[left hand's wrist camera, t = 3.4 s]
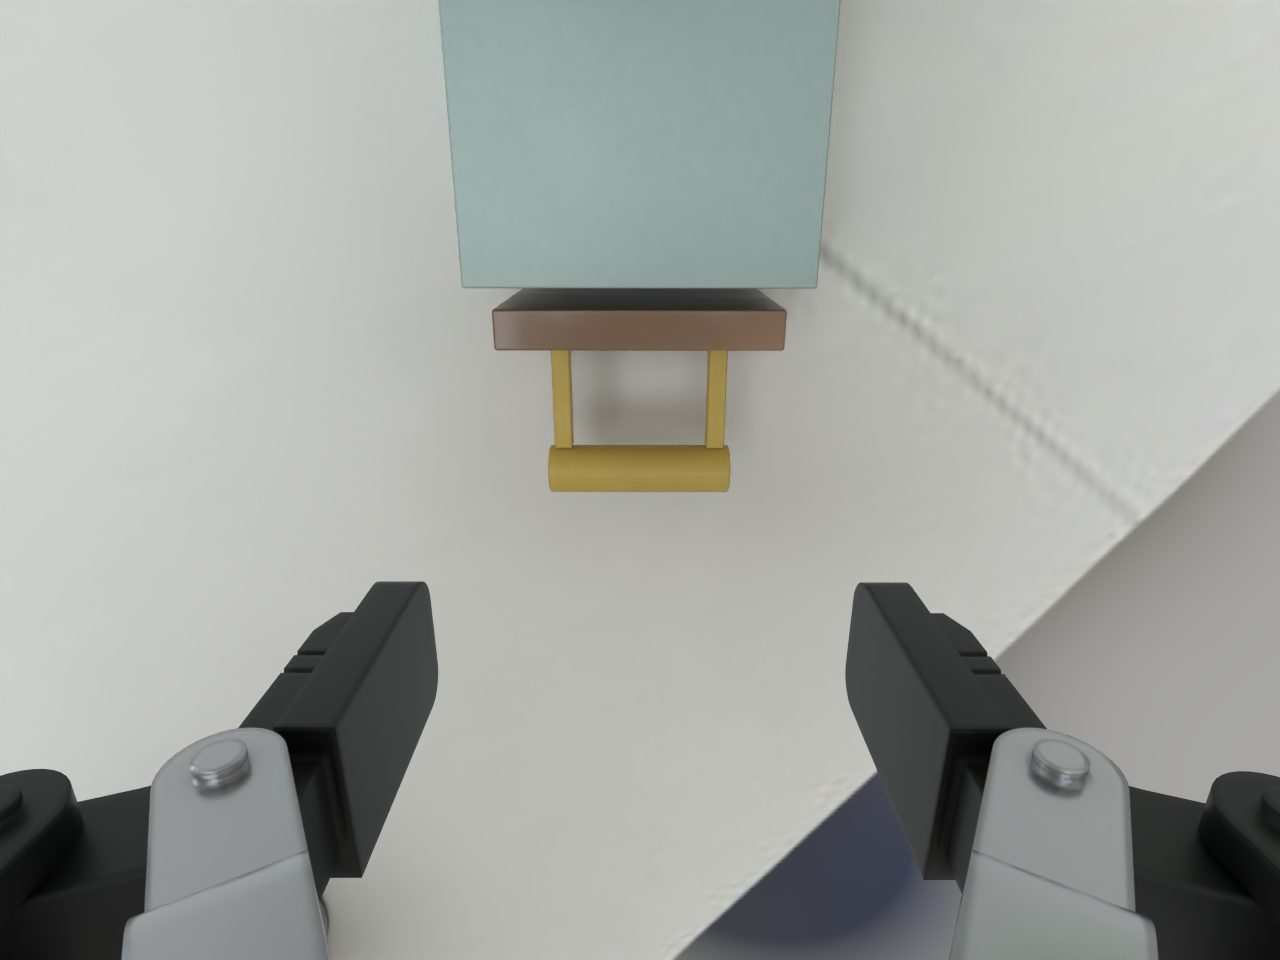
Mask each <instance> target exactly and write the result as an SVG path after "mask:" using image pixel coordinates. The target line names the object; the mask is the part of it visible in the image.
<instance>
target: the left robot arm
mask: <svg viewBox="0 0 1280 960" xmlns="http://www.w3.org/2000/svg"><path fill="white" fill-rule="evenodd" d="M437 684H438V662H437V653H436V644H435V635H434V627H433V618H432V609H431V600H430V593H429V589H428V586H427V584H426V583H425V582H376V583H375V584H374V585H373V586H372V588H371V589H370V590H369V592H368V593H367V595H366V596H365V597H364V599H363V600H362V602H361V603H360V605H359V606H358V607H357V609H356V610H355V612H341V613H339V614H338V615H336V616H335V617H333V618H332V619H330V620H329V621H327V622H325V623H324V624H322V625H321V626H319V627H318V628H316V629H315V630H314V631H313V632H312V633H311V634H310V636H309V637H308V638H307V640H306V641H305V642H304V644H303V645H302V646H301V647H300V649H299V650H298V654H297V655H294V656H293V658H292V659H291V660H290V662H289V663H288V664H287V666H286V667H285V668H284V673H280V675H279V676H278V677H277V679H276V680H275V681H274V682H273V684H272V685H271V686H270V688H269V689H268V690H267V692H266V693H265V694H264V695H263V697H262V698H261V699H260V701H259V702H258V703H257V704H256V706H255V707H254V708H253V710H252V711H251V712H250V714H249V715H248V716H247V717H246V719H245V720H244V721H243V723H242V724H241V725H240V727H239V728H238V729H233V730H228V731H224V732H220V733H217V734H214V735H211V736H208V737H206V738H203V739H201V740H199V741H197V742H195V743H193V744H191V745H189V746H187V747H186V748H184V749H183V750H181V751H180V752H178V753H177V754H176V755H174V756H173V757H172V758H171V759H169V760H168V761H167V762H166V763H165V764H164V765H163V766H162V767H161V769H160V770H159V771H158V773H157V774H156V776H155V778H154V780H153V782H152V785H151V786H148V787H144V788H140V789H135V790H131V791H126V792H122V793H117V794H113V795H108V796H104V797H99V798H94V799H90V800H85V801H81V802H77V800H76V797H75V794H74V791H73V788H72V785H71V783H70V780H69V779H68V778H67V776H65V775H64V774H62V773H61V772H58V771H54V770H48V769H31V770H23V771H18V772H13V773H9V774H5V775H2V776H0V960H331V957H330V952H329V947H328V942H327V931H328V922H327V916H326V913H325V909H324V907H323V905H322V903H321V901H320V899H321V897H322V894H323V892H324V890H325V888H326V886H327V884H328V881H329V879H330V878H362V876H363V873H364V871H365V868H366V866H367V864H368V861H369V859H370V856H371V854H372V852H373V849H374V847H375V844H376V842H377V840H378V837H379V835H380V832H381V830H382V828H383V825H384V823H385V820H386V818H387V816H388V813H389V811H390V808H391V806H392V803H393V801H394V799H395V796H396V794H397V791H398V789H399V787H400V784H401V782H402V779H403V777H404V775H405V772H406V770H407V767H408V765H409V763H410V760H411V758H412V755H413V753H414V750H415V748H416V746H417V743H418V741H419V738H420V736H421V734H422V731H423V729H424V726H425V724H426V722H427V719H428V717H429V714H430V712H431V710H432V707H433V704H434V701H435V697H436V692H437ZM846 689H847V695H848V700H849V703H850V706H851V709H852V711H853V714H854V716H855V718H856V721H857V723H858V726H859V728H860V730H861V733H862V735H863V737H864V740H865V742H866V745H867V747H868V749H869V752H870V754H871V756H872V759H873V761H874V763H875V766H876V768H877V771H878V773H879V775H880V778H881V780H882V782H883V785H884V787H885V790H886V792H887V794H888V797H889V799H890V801H891V804H892V806H893V808H894V811H895V813H896V816H897V818H898V820H899V823H900V825H901V828H902V830H903V832H904V835H905V837H906V839H907V842H908V844H909V846H910V849H911V851H912V854H913V856H914V858H915V861H916V863H917V865H918V868H919V870H920V872H921V875H922V877H923V879H924V880H956V882H957V884H958V887H959V889H960V891H961V893H962V898H961V903H960V907H959V912H958V917H957V922H956V927H955V932H954V937H953V942H952V947H951V952H950V957H949V960H1280V778H1279V777H1276V776H1272V775H1268V774H1263V773H1256V772H1243V771H1239V772H1230V773H1226V774H1224V775H1221V776H1220V777H1218V778H1216V780H1215V781H1214V783H1213V784H1212V787H1211V790H1210V793H1209V796H1208V799H1207V802H1206V804H1205V803H1200V802H1196V801H1192V800H1187V799H1182V798H1178V797H1173V796H1169V795H1164V794H1160V793H1155V792H1150V791H1146V790H1142V789H1138V788H1134V787H1131V786H1129V785H1128V782H1127V780H1126V778H1125V776H1124V774H1123V773H1122V771H1121V770H1120V769H1119V767H1118V766H1117V765H1116V764H1115V763H1114V762H1113V761H1112V760H1111V759H1109V758H1108V757H1107V756H1106V755H1104V754H1103V753H1102V752H1100V751H1099V750H1097V749H1096V748H1094V747H1093V746H1091V745H1089V744H1087V743H1085V742H1083V741H1081V740H1079V739H1077V738H1074V737H1072V736H1069V735H1066V734H1063V733H1060V732H1056V731H1052V730H1047V729H1046V727H1045V726H1044V725H1043V723H1042V722H1041V721H1040V720H1039V718H1038V717H1037V716H1036V714H1035V713H1034V712H1033V711H1032V709H1031V708H1030V707H1029V705H1028V704H1027V703H1026V702H1025V700H1024V699H1023V698H1022V696H1021V695H1020V694H1019V693H1018V691H1017V690H1016V689H1015V688H1014V686H1013V685H1012V684H1011V682H1010V681H1009V680H1008V679H1007V677H1006V676H1005V675H1004V674H1001V670H1000V668H999V667H998V666H997V664H996V663H995V662H994V661H993V659H992V658H991V657H988V656H987V652H986V650H985V649H984V648H983V646H982V645H981V644H980V643H979V641H978V640H977V639H976V638H975V636H974V635H973V634H972V632H971V631H969V630H968V629H966V628H965V627H963V626H962V625H960V624H959V623H957V622H956V621H954V620H953V619H951V618H950V617H948V616H947V615H945V614H944V613H930V612H929V611H928V609H927V608H926V606H925V605H924V604H923V602H922V601H921V599H920V598H919V597H918V595H917V594H916V592H915V591H914V590H913V588H912V587H911V586H910V585H909V584H908V583H859V584H858V585H857V587H856V590H855V593H854V599H853V608H852V616H851V625H850V634H849V642H848V651H847V660H846Z"/></svg>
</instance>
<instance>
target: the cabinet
mask: <svg viewBox="0 0 1280 960" xmlns="http://www.w3.org/2000/svg"><path fill="white" fill-rule="evenodd" d="M840 1H841V0H439V13H440V25H441V37H442V49H443V62H444V74H445V86H446V98H447V111H448V123H449V135H450V147H451V160H452V172H453V184H454V196H455V209H456V221H457V233H458V245H459V258H460V270H461V282H462V287H463V288H816V287H817V279H818V267H819V255H820V243H821V230H822V218H823V206H824V194H825V182H826V170H827V158H828V146H829V134H830V122H831V110H832V98H833V86H834V74H835V61H836V49H837V37H838V25H839V13H840Z"/></svg>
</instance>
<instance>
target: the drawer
mask: <svg viewBox="0 0 1280 960" xmlns="http://www.w3.org/2000/svg"><path fill="white" fill-rule="evenodd" d="M786 315H787V311H786V310H785V309H784V308H782V307H781V306H779V305H778V304H776V303H775V302H774V301H772V300H771V299H769V298H768V297H767V296H765V295H764V294H762V293H761V292H760V291H758V290H757V289H755V288H523V289H522V290H520V291H519V292H517V293H516V294H515V295H513V296H512V297H510V298H509V299H508V300H506V301H505V302H503V303H502V304H500V305H499V306H498V307H496V308H495V309H493V310H492V319H493V334H494V348H495V350H551V361H552V385H553V409H554V433H555V445H552V446H551V447H550V450H549V461H548V476H549V486H550V490H551V491H552V492H727V491H728V489H729V483H730V453H729V448H728V446H727V445H724V426H725V402H726V379H727V355H728V350H732V351H782V350H784V344H785V329H786ZM571 350H708V368H707V398H706V428H705V444H706V445H573V443H574V440H573V409H572V378H571Z"/></svg>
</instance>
